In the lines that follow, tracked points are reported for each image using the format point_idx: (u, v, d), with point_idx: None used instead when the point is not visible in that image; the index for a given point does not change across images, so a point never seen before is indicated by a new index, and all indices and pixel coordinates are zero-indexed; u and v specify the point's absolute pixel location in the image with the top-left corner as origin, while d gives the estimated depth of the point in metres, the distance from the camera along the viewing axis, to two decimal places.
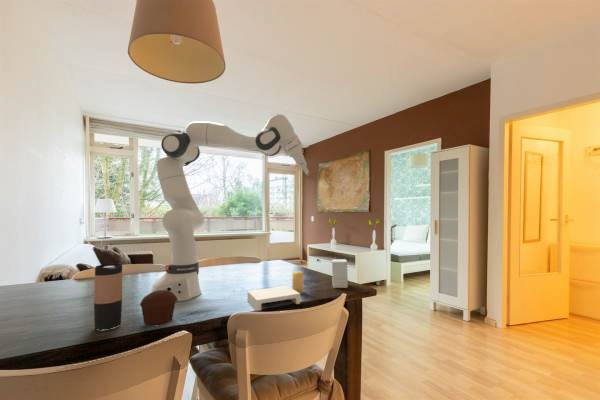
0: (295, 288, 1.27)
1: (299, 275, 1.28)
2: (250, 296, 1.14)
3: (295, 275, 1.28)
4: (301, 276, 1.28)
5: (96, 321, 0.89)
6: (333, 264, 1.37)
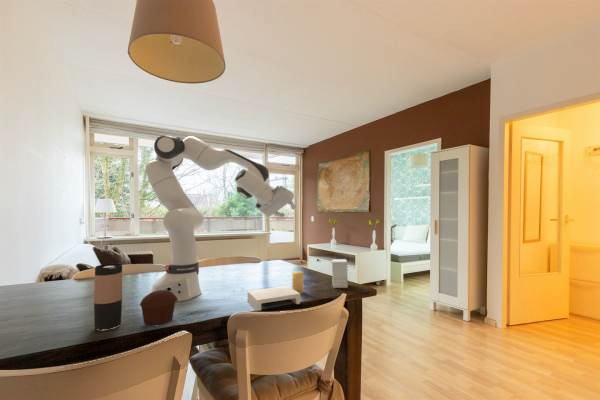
0: (295, 288, 1.27)
1: (299, 275, 1.28)
2: (250, 296, 1.14)
3: (295, 275, 1.28)
4: (301, 276, 1.28)
5: (96, 321, 0.89)
6: (333, 264, 1.37)
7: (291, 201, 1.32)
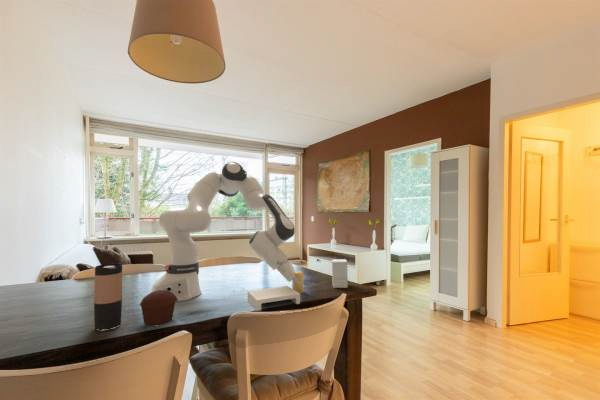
0: (295, 288, 1.27)
1: (299, 275, 1.28)
2: (250, 296, 1.14)
3: (295, 275, 1.28)
4: (301, 276, 1.28)
5: (96, 321, 0.89)
6: (333, 264, 1.37)
7: (294, 278, 1.25)
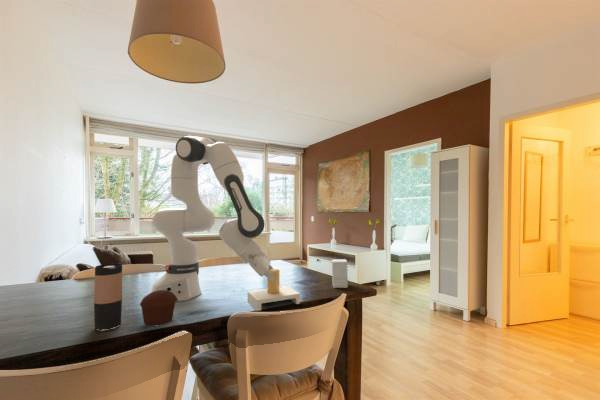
0: (270, 288, 1.14)
1: (274, 273, 1.14)
2: (250, 296, 1.14)
3: None
4: (277, 274, 1.14)
5: (96, 321, 0.89)
6: (333, 264, 1.37)
7: (267, 273, 1.10)
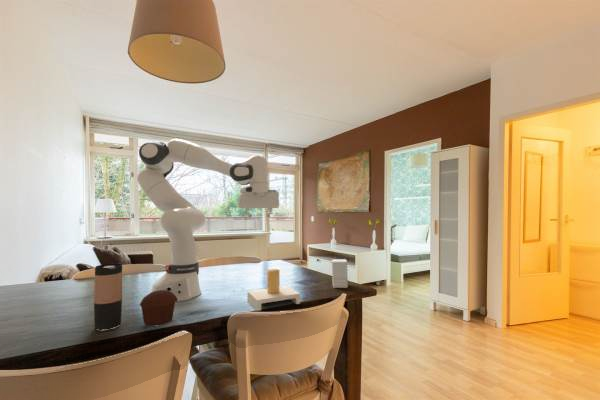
0: (270, 288, 1.14)
1: (274, 273, 1.14)
2: (250, 296, 1.14)
3: (270, 273, 1.14)
4: (277, 274, 1.14)
5: (96, 321, 0.89)
6: (333, 264, 1.37)
7: (271, 210, 1.40)
